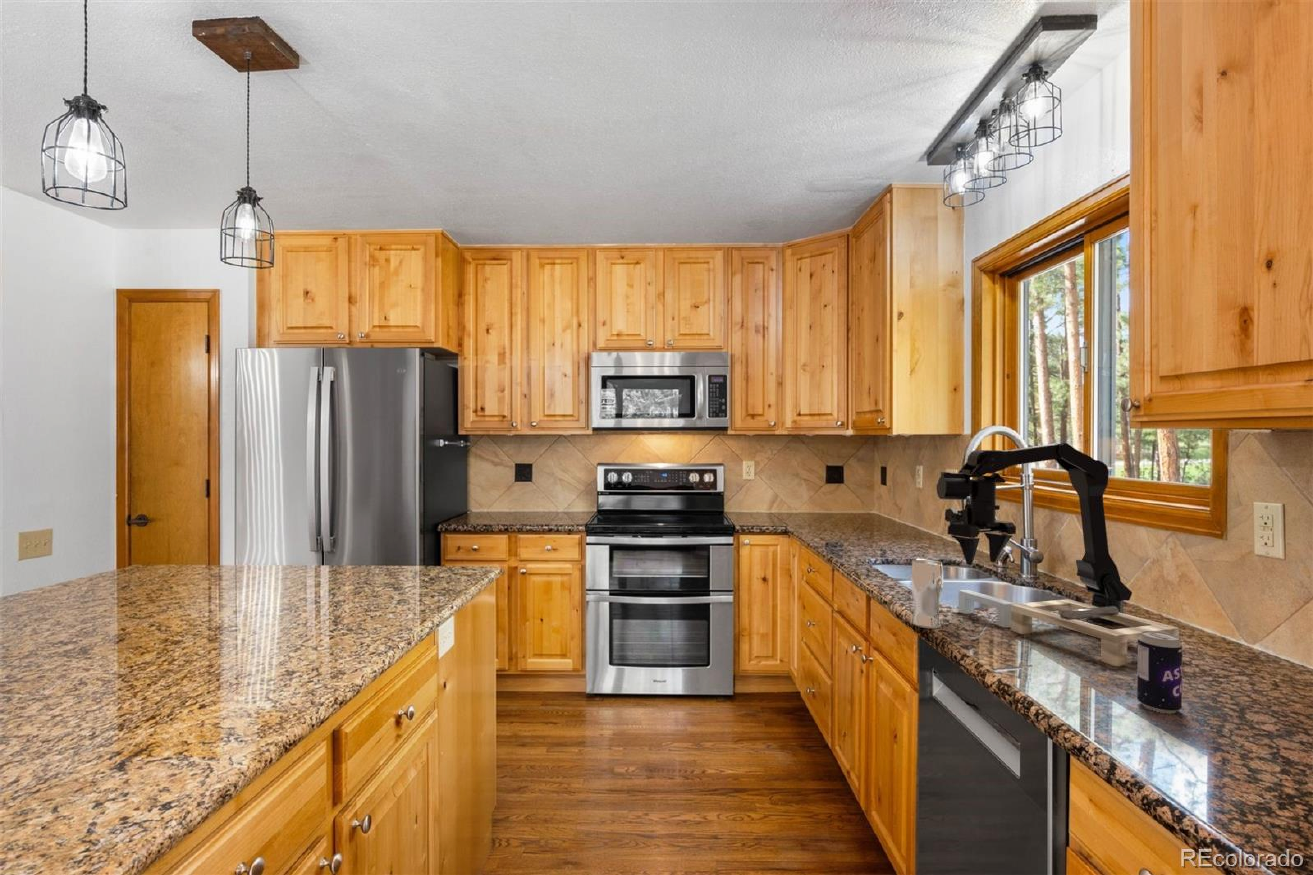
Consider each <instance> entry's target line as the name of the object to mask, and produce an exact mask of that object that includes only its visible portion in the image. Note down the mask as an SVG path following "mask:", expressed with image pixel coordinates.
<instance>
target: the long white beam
mask: <svg viewBox="0 0 1313 875" xmlns="http://www.w3.org/2000/svg"><path fill="white" fill-rule="evenodd" d="M975 603H980V604H983V605H986V606H989V607H993V608H996V609H997V626H999V627H1002V628H1003V629H1004V628H1011V604H1016V603H1014V602H1012V601H1007V600H1005V599H1000V598H998V597H996V596H995V597H994V596H991V595H989V594H988V595H987V594H984V593H981V592H977V591H974V590H971V589H960V590H958V613H959V614H960V613H961V614H963V615H969V614H975Z"/></svg>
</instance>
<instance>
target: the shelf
mask: <svg viewBox="0 0 1313 875" xmlns="http://www.w3.org/2000/svg"><path fill="white" fill-rule="evenodd" d="M1088 608H1098V607H1096V606H1092V604H1088V603H1084V602H1081V601H1076V600H1073V599H1070V598H1067V599H1054V600H1043V601H1035V602H1034V601H1033V602H1021V603H1015V604H1011V627H1010V631H1011V632H1014V633H1016V634H1021V635H1026V634H1033V618H1034V619H1036V620H1039V621H1043V622H1046V623H1049V624H1051V625H1052V624H1053V625H1056V626H1058V627H1062V628H1066V629H1069V630H1072V631H1075V632H1078V633H1081V634H1085V635H1088V636H1092V637H1095V638H1098V639H1100V662H1102V663H1105V664H1108V665H1112V666H1114V667H1120V666H1127V665H1128V642H1129V643H1130V642H1131V643H1132V642H1136V641H1137V642H1138V639H1139V637H1140V636H1141V632H1142V631H1156V632H1163V633H1167V634H1171V635H1174V636H1177V637H1178V638H1179V637H1180V634H1179V633H1180V627H1176V626H1172V625H1169V624H1165V623H1161V622H1157V621H1153V620H1150V619H1145V618H1142V617H1138V616H1135V615H1131V614H1127V613H1124V612H1123V613H1118V614H1113V615H1112V616H1105V617H1099V618H1103V619H1107V620H1110V621H1114V622H1117V623H1121V624H1120V625H1125V626H1129V627H1126V628H1125V627H1124V628H1117V629H1115V628H1114V629H1110V628H1107V627H1103V626H1100V625H1096V624H1093V623H1089V622H1085V621H1084V620H1081V619H1077V620H1076V619H1066V618H1062V617H1060V613H1061V612H1062V611H1068V610H1078V609H1088ZM1055 612H1058V613H1055ZM1179 639H1180V638H1179Z"/></svg>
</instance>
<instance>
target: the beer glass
mask: <svg viewBox="0 0 1313 875" xmlns="http://www.w3.org/2000/svg"><path fill="white" fill-rule="evenodd" d="M911 561H912V562H911V563H912V564H911V576H910V578H911V579H910V580H911V581H910V582H911V585H910V586H911V593H912V598H913V604H914V613H913V618H912V624H913V625H914V626H915V627H918V628H924V629H940V628H941V620H940V614H939V612H940V604H941V599H942V594H943V588H944V569H943V562H942V561H939V560H937V559H936V560H935V559H929V558H928V559H927V558H916V559H912V560H911Z"/></svg>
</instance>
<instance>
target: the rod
mask: <svg viewBox="0 0 1313 875" xmlns="http://www.w3.org/2000/svg"><path fill="white" fill-rule="evenodd" d="M1118 613H1119V610H1118V608H1117V607H1115V606H1108V607H1098V608H1088V609H1078V610H1068V611H1062V612H1061V613H1060V617H1062V618H1066V619H1076V620H1077V619H1080V620H1085V619H1087V618H1095V617H1105V616H1112V615H1113V614H1118Z"/></svg>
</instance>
